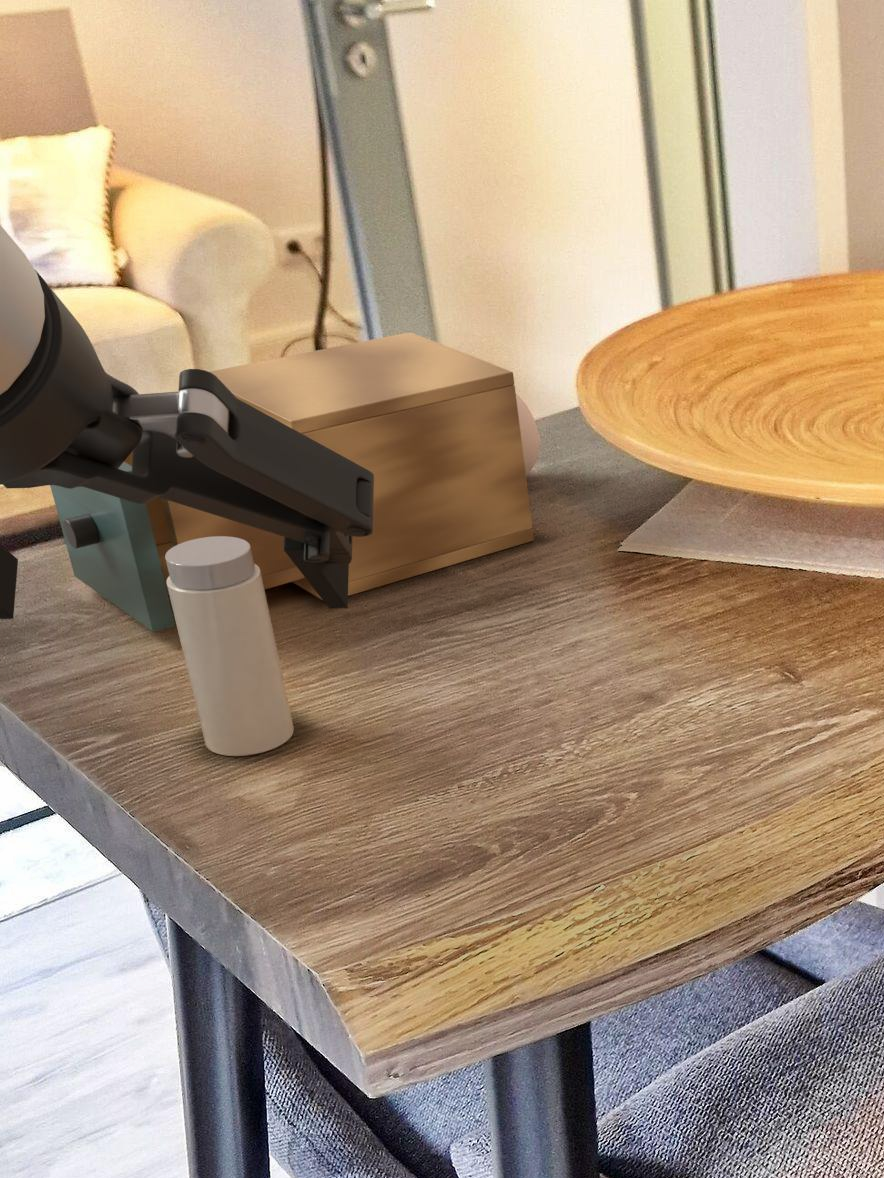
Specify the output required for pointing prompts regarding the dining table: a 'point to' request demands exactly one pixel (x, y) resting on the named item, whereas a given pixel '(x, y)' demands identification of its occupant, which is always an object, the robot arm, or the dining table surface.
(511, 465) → the cabinet
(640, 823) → the dining table surface
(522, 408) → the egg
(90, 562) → the drawer
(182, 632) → the salt shaker
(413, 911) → the dining table surface
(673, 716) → the dining table surface
